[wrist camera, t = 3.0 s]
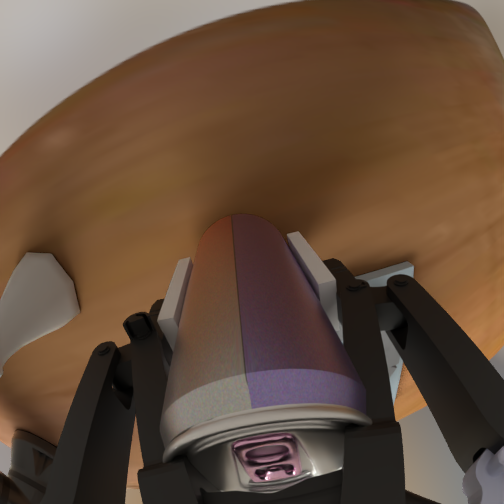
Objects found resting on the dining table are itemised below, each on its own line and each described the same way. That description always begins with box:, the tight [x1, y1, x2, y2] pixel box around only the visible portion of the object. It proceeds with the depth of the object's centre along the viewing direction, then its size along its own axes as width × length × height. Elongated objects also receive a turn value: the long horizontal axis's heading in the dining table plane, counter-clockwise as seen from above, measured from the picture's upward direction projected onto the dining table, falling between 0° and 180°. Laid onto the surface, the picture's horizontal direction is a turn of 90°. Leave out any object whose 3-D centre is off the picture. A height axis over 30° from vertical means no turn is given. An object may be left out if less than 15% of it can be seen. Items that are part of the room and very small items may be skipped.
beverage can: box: [160, 214, 372, 493], centre depth 12 cm, size 6×6×15 cm
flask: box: [0, 252, 80, 377], centre depth 14 cm, size 7×7×10 cm
